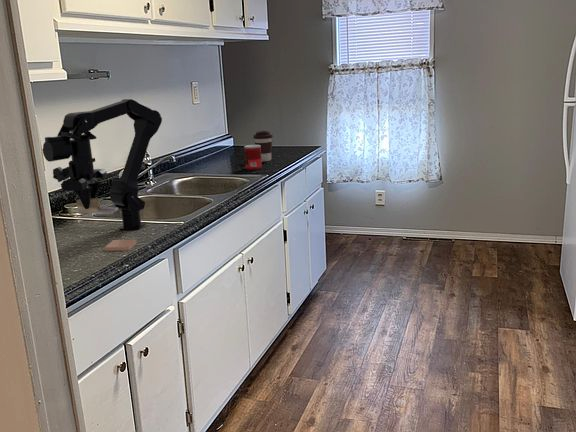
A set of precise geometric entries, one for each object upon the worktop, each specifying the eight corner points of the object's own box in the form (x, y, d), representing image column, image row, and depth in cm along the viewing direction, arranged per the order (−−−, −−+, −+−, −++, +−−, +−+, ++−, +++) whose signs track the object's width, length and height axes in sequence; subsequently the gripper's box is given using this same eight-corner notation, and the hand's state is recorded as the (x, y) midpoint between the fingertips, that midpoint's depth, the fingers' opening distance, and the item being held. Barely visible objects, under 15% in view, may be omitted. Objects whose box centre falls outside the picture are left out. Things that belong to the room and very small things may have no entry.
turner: (83, 210, 179) (81, 197, 178) (118, 209, 177) (116, 196, 176) (76, 214, 174) (74, 201, 173) (111, 214, 173) (110, 200, 172)
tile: (113, 239, 172) (136, 239, 172) (113, 244, 173) (137, 244, 172) (104, 247, 166) (128, 247, 165) (105, 252, 166) (129, 252, 165)
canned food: (265, 167, 284) (263, 145, 281) (253, 170, 279) (251, 147, 276) (254, 166, 289) (253, 144, 287) (242, 168, 284) (240, 146, 281)
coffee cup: (271, 162, 299) (270, 132, 295) (252, 162, 301) (251, 133, 297) (275, 158, 309) (274, 130, 305) (257, 159, 310) (255, 130, 307)
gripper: (70, 152, 181) (77, 200, 186) (39, 162, 164) (48, 216, 168) (104, 150, 180) (111, 200, 184) (77, 161, 162) (85, 215, 166)
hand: (89, 207), depth 176 cm, fingers closed on turner, 3 cm apart
